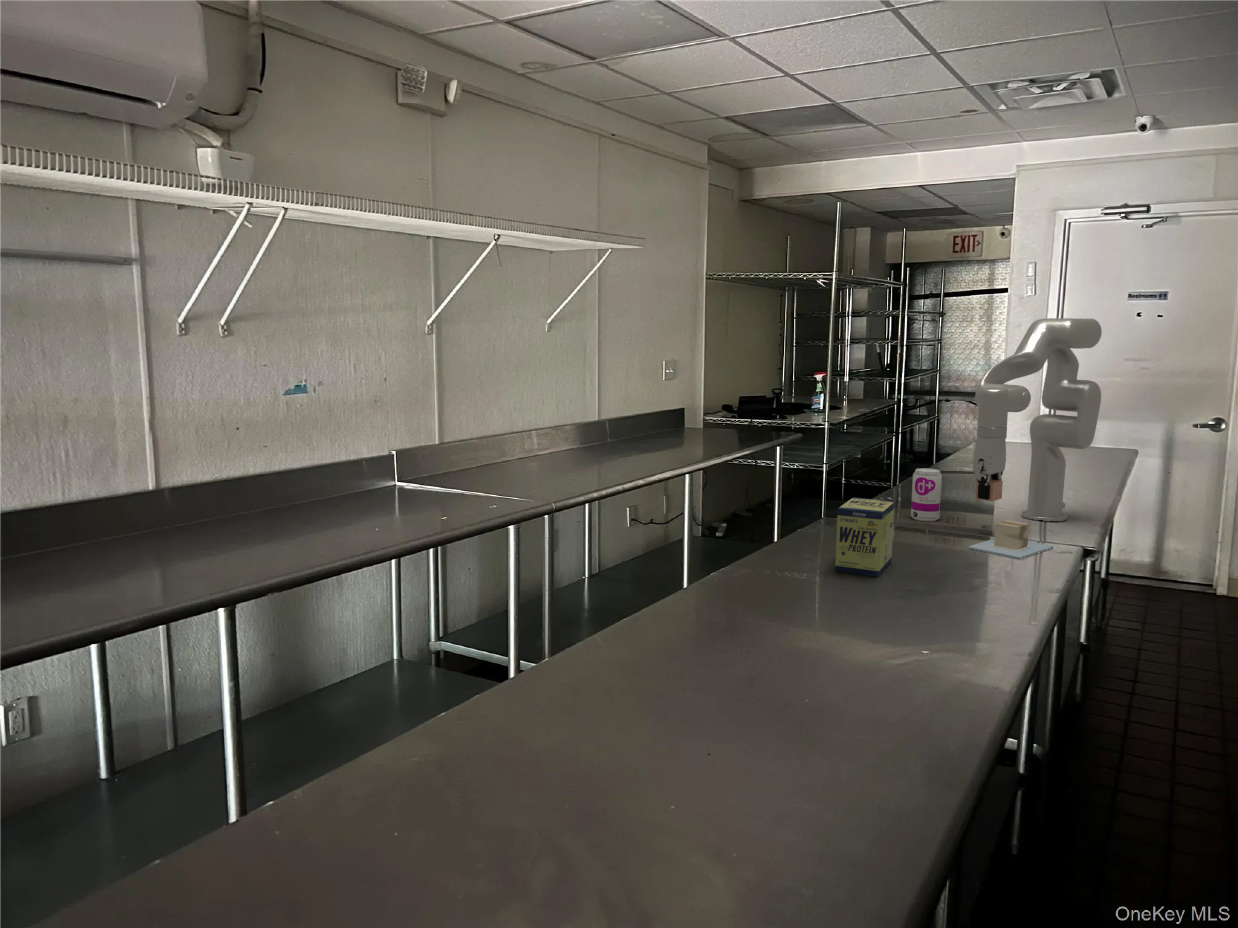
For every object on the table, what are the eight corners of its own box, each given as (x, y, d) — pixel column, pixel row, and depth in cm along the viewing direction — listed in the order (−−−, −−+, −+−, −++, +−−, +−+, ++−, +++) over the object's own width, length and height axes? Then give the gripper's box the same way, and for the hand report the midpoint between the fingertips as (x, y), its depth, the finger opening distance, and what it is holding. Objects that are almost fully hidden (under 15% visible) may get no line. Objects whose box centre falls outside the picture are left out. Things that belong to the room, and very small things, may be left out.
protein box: (834, 571, 210) (837, 507, 208) (849, 556, 224) (852, 496, 221) (879, 577, 205) (882, 512, 203) (892, 562, 219) (895, 500, 217)
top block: (984, 495, 250) (985, 478, 249) (1001, 498, 246) (1002, 480, 245) (975, 498, 247) (976, 481, 246) (992, 501, 243) (993, 483, 242)
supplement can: (934, 523, 262) (937, 473, 260) (906, 519, 267) (909, 470, 265) (943, 518, 269) (946, 469, 266) (915, 514, 273) (918, 467, 271)
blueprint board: (1001, 538, 244) (1001, 535, 243) (1053, 548, 233) (1053, 545, 233) (967, 548, 232) (967, 546, 232) (1020, 559, 222) (1020, 556, 221)
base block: (1005, 541, 237) (1006, 520, 236) (1027, 546, 232) (1029, 523, 231) (994, 545, 233) (995, 523, 232) (1016, 549, 228) (1018, 527, 227)
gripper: (994, 427, 251) (991, 490, 254) (962, 435, 240) (960, 500, 244) (1020, 430, 245) (1016, 494, 249) (989, 437, 235) (986, 504, 238)
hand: (988, 496), depth 246 cm, fingers closed on top block, 5 cm apart
